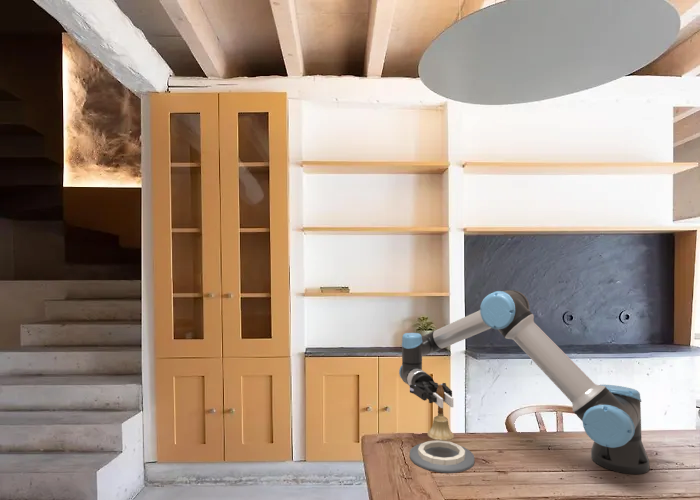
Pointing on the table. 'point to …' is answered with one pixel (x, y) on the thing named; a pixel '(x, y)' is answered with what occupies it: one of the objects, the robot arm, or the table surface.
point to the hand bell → (440, 423)
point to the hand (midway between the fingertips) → (447, 403)
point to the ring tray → (442, 457)
